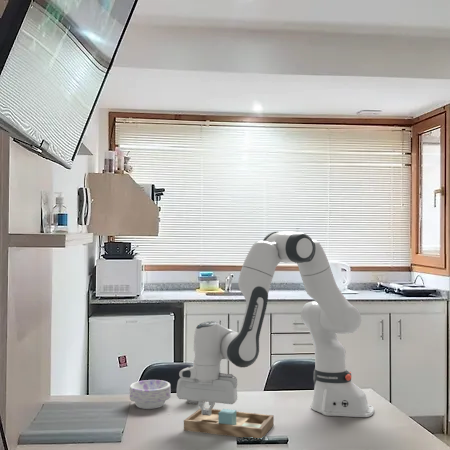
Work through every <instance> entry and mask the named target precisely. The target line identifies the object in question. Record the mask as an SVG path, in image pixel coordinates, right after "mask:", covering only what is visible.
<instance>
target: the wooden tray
mask: <svg viewBox="0 0 450 450" xmlns="http://www.w3.org/2000/svg"><path fill="white" fill-rule="evenodd" d="M205 408H206V409H209V408H207V407H205ZM221 410H222V409H216V408H212V414H211V416H207V415H202V414H201V408H200V407H199V408H198V410H196V411H194V412H193V413H192V414H190V415H189V416H188V417H186V418H185V419H183V430H184V431H186V432H188V431H189V432H193V433H194V432H195V433H203V434H212V435H219V436H226V437H228V436H229V437H237V438H243V437H253V438H262V437H263V436H264V437H265V436H266V435H267V434H268V432H269V431H270V430H271V429H272V428H273V427H274V426H275V425H274V421H275V419H274V417H275V416H274V415H273V414H263V413H255V412H254V413H253V412H245V411H237V410H236V425H230V424H221V423H218V417H219V412H220V411H221ZM264 437H263V438H264Z"/></svg>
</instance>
